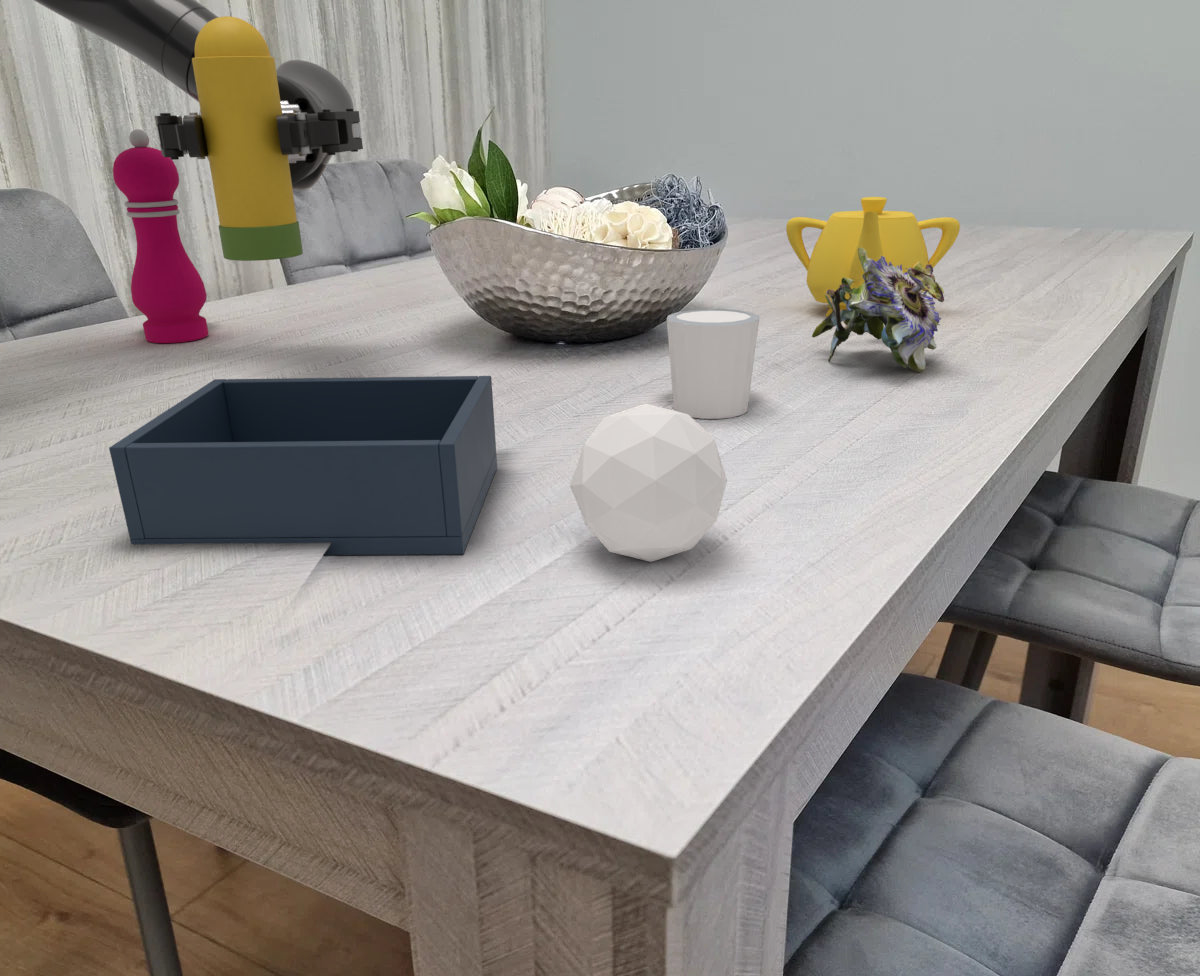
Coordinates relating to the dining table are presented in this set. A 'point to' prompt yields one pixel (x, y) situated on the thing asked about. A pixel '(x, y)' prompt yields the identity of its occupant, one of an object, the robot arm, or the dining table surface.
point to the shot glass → (712, 361)
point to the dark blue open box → (314, 464)
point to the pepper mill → (159, 246)
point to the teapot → (865, 244)
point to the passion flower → (888, 309)
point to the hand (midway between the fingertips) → (237, 136)
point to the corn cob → (245, 142)
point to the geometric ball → (649, 482)
